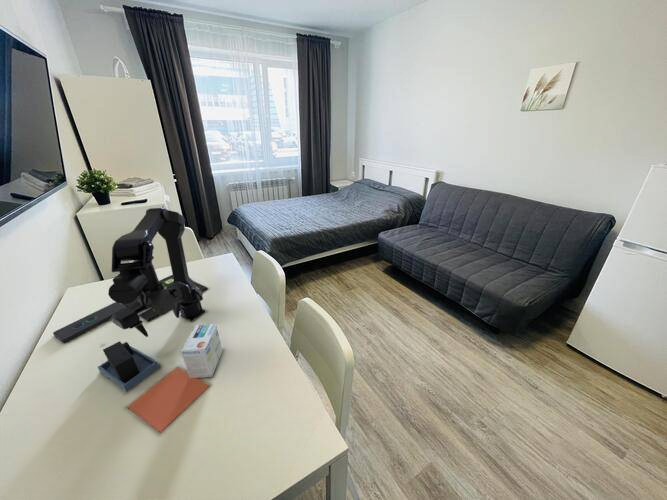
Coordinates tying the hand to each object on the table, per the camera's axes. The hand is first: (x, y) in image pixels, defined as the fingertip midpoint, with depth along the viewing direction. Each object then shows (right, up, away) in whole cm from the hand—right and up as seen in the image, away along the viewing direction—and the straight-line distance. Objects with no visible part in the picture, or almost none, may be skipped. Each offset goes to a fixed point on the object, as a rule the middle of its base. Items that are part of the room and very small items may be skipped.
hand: (162, 326), depth 79 cm
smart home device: (-39, -5, +21) cm, 45 cm away
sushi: (-23, +3, +37) cm, 43 cm away
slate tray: (-10, -13, +1) cm, 17 cm away
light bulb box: (+12, -12, +2) cm, 17 cm away
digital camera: (-11, -13, +1) cm, 17 cm away
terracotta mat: (+6, -17, -7) cm, 19 cm away
